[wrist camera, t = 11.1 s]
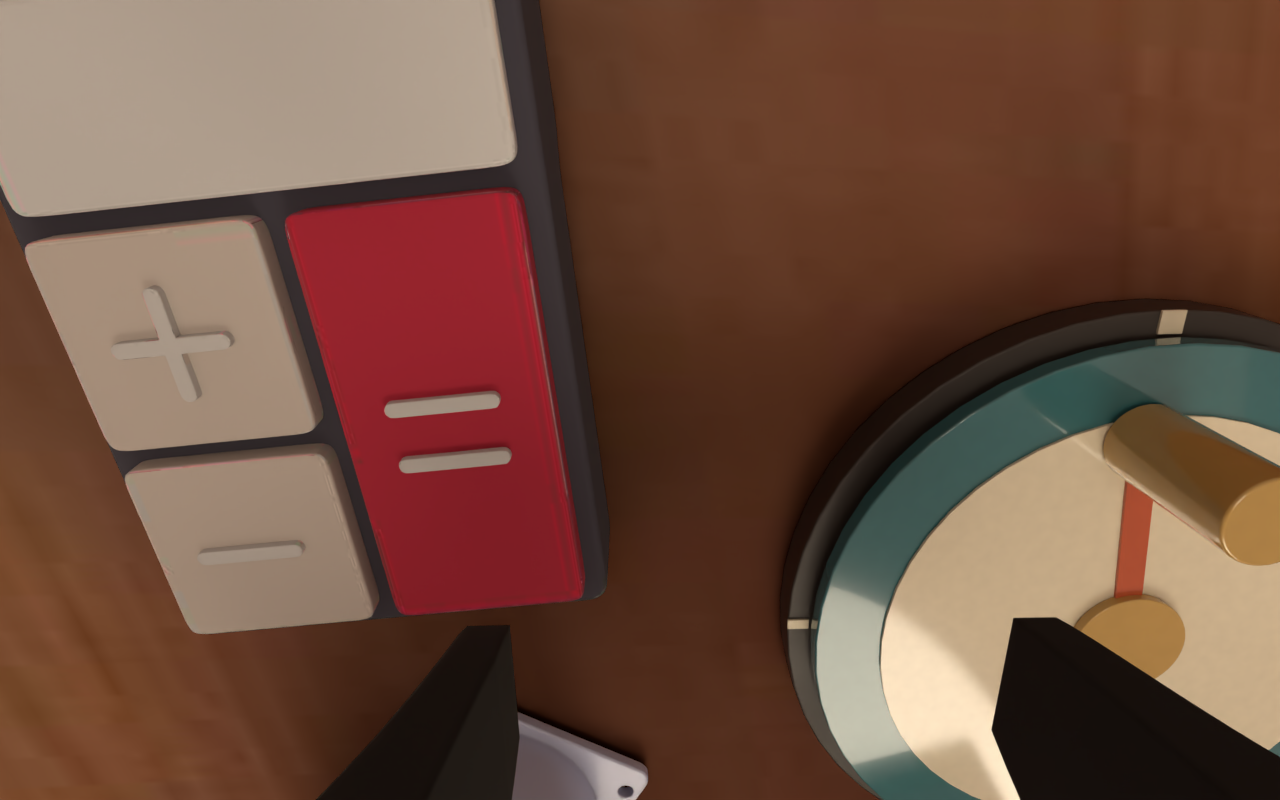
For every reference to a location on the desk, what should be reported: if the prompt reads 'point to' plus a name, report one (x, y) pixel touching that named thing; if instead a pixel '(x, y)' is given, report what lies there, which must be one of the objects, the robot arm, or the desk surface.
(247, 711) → the desk surface
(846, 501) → the stand
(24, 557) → the desk surface
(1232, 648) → the turntable with peg
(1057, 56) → the desk surface
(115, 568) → the desk surface
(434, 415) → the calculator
